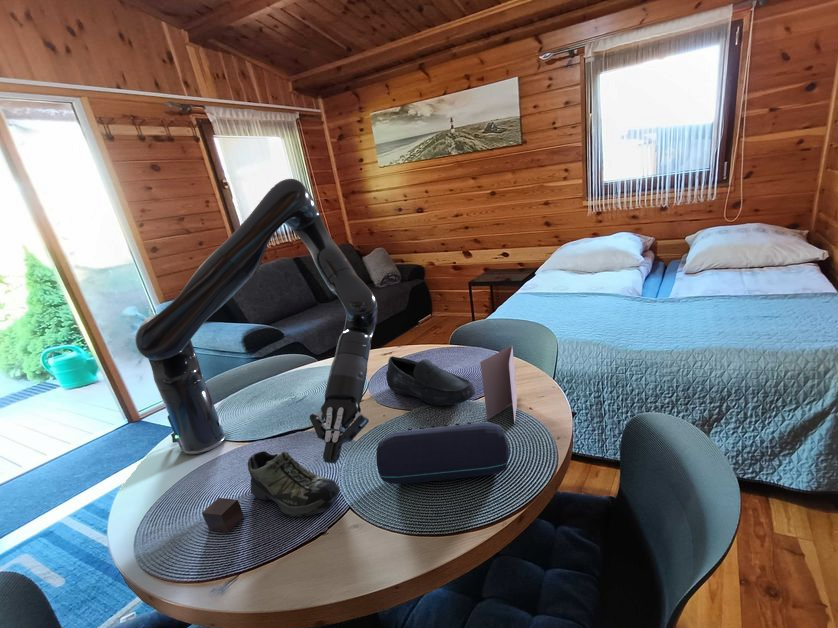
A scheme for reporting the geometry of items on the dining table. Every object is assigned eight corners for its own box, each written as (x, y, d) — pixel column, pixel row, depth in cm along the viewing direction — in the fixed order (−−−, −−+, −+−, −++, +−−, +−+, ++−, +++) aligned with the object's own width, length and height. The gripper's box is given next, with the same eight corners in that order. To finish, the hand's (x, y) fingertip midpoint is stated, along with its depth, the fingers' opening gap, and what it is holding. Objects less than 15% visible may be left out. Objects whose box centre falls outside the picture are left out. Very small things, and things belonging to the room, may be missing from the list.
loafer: (464, 414, 106) (459, 376, 102) (377, 396, 121) (369, 362, 117) (484, 395, 114) (480, 359, 110) (400, 380, 129) (394, 349, 125)
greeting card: (514, 399, 110) (509, 344, 104) (538, 406, 105) (534, 349, 99) (484, 419, 102) (477, 361, 97) (508, 428, 97) (502, 367, 92)
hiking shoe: (319, 526, 75) (306, 482, 72) (237, 501, 84) (222, 462, 81) (350, 495, 82) (340, 453, 79) (271, 475, 92) (258, 437, 88)
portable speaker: (508, 452, 89) (503, 410, 85) (513, 484, 80) (508, 438, 76) (388, 465, 90) (379, 423, 86) (379, 497, 81) (368, 452, 77)
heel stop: (208, 530, 78) (201, 512, 77) (225, 514, 82) (218, 497, 80) (228, 532, 77) (221, 515, 75) (244, 516, 80) (237, 499, 79)
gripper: (383, 384, 93) (369, 467, 86) (329, 384, 96) (311, 463, 90) (367, 373, 86) (350, 461, 80) (309, 373, 90) (289, 457, 83)
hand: (329, 462), depth 85 cm, fingers closed
